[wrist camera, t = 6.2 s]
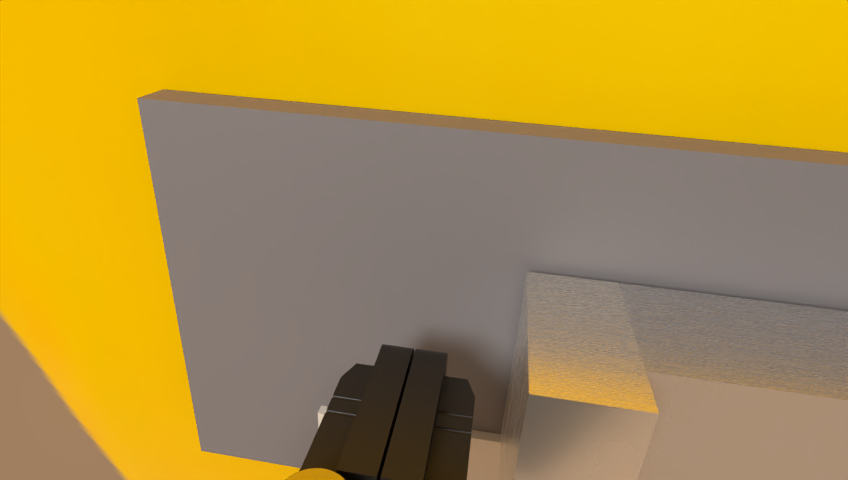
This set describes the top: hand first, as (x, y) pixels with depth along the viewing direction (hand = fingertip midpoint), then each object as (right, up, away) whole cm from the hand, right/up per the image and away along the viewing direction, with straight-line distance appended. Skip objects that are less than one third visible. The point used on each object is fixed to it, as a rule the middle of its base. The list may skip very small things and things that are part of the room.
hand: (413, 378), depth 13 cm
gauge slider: (+7, -2, +1) cm, 8 cm away
